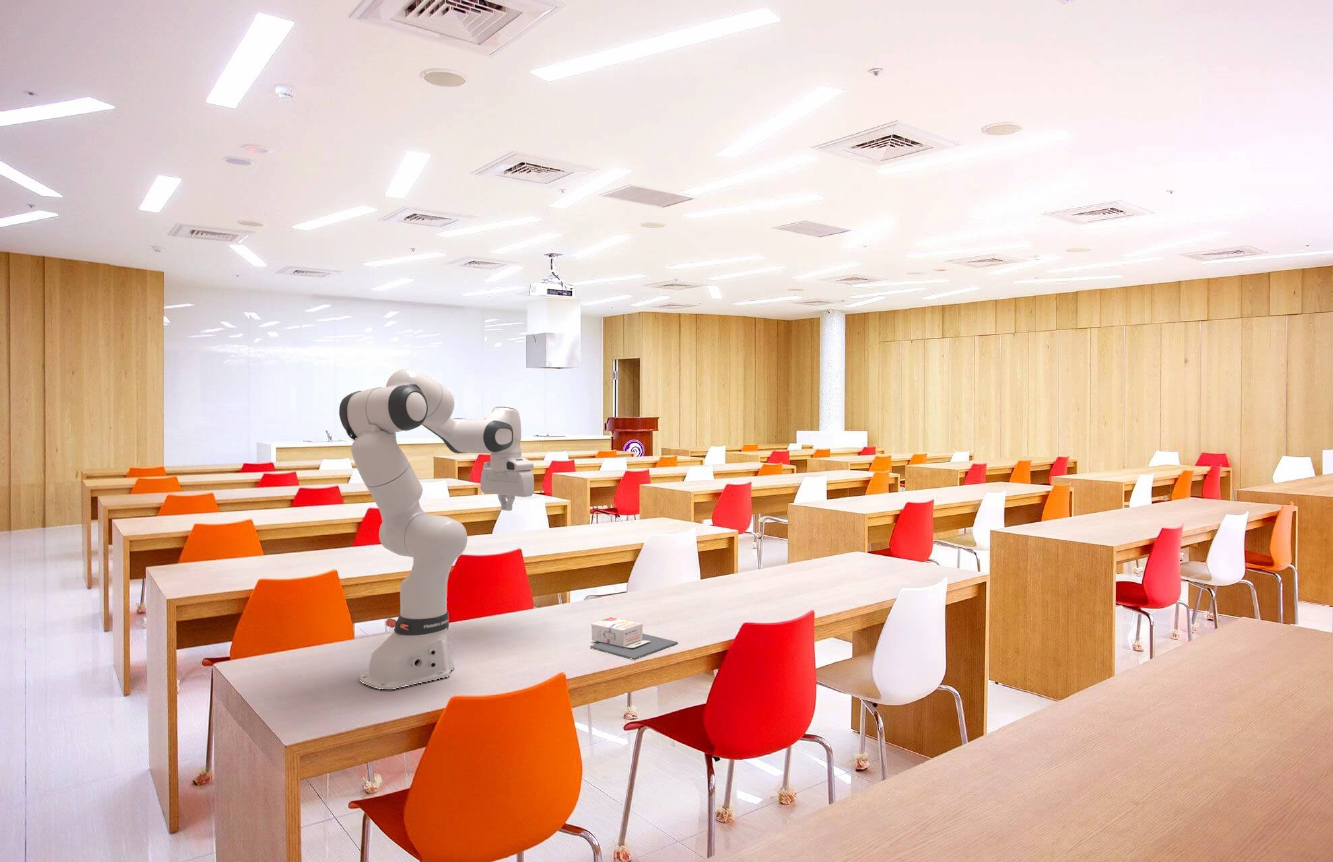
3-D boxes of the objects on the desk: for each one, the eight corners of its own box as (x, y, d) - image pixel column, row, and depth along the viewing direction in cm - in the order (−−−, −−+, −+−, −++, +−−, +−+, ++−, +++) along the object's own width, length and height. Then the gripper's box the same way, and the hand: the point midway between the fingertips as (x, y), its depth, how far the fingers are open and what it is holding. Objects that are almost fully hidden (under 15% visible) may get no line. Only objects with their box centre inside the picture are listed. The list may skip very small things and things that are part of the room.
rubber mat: (634, 659, 210) (634, 658, 210) (590, 648, 220) (590, 646, 220) (677, 643, 224) (677, 642, 224) (634, 633, 234) (634, 631, 234)
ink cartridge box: (610, 616, 232) (651, 624, 223) (610, 633, 232) (651, 642, 223) (590, 622, 225) (632, 631, 216) (590, 640, 225) (632, 650, 216)
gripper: (475, 461, 240) (475, 508, 241) (520, 465, 227) (520, 514, 228) (492, 460, 245) (492, 506, 245) (537, 463, 232) (538, 512, 232)
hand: (506, 510), depth 236 cm, fingers closed
